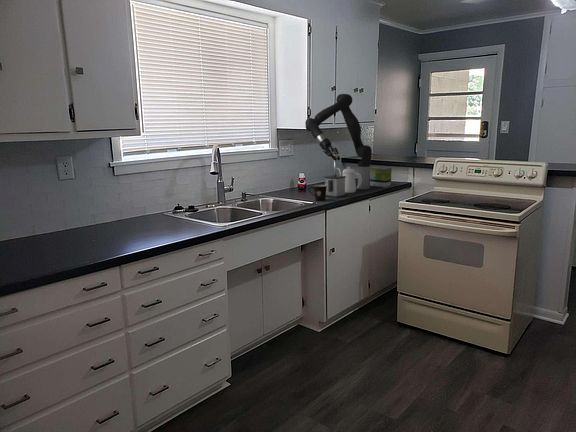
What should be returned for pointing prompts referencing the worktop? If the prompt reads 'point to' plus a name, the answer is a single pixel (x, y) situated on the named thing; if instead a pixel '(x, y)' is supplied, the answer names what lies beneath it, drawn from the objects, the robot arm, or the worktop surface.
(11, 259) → the worktop surface
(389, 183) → the tea box
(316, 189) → the coffee mug
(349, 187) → the coffeepot
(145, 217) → the worktop surface
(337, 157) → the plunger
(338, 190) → the utensil holder
